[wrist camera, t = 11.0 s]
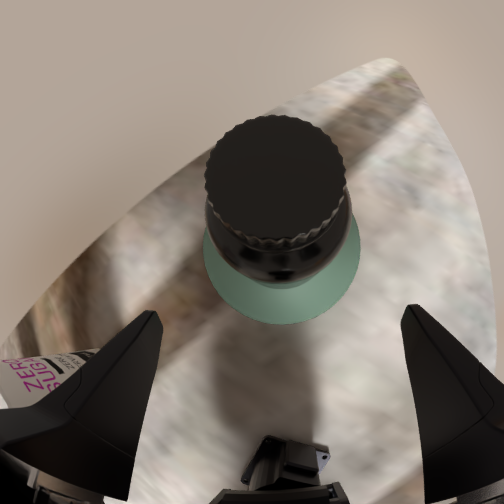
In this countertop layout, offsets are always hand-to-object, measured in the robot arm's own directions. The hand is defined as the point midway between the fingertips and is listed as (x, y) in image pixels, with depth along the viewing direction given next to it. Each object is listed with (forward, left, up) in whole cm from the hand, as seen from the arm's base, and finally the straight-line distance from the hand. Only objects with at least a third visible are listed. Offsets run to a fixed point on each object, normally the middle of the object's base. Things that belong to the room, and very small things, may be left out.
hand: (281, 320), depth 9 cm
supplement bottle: (+4, +2, -11) cm, 12 cm away
